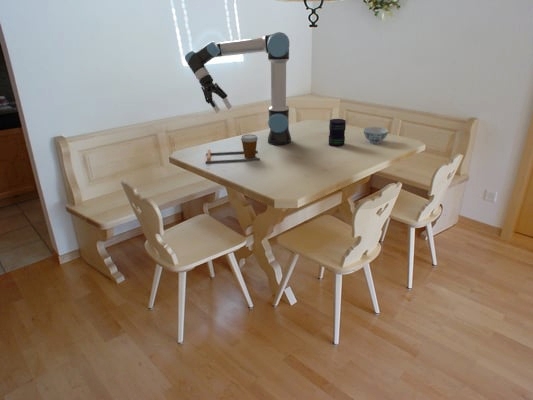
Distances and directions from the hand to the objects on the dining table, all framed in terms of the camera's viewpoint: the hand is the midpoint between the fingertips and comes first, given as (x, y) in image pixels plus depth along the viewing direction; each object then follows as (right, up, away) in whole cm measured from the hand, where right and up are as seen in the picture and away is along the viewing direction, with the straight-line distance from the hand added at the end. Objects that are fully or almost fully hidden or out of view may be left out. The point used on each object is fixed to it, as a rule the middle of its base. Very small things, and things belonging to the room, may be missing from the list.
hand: (224, 110), depth 225 cm
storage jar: (+67, -17, +20) cm, 72 cm away
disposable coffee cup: (+15, -27, +1) cm, 30 cm away
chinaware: (+92, -15, +23) cm, 96 cm away
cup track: (+5, -27, 0) cm, 28 cm away
